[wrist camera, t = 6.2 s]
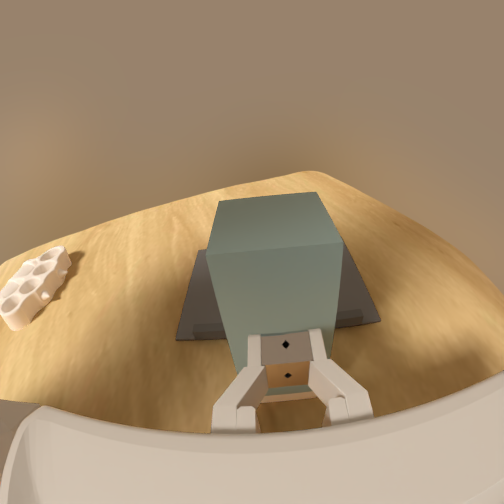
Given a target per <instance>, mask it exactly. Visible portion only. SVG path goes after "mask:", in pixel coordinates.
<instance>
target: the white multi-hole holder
mask: <svg viewBox="0 0 504 504" xmlns="http://www.w3.org/2000/svg"><path fill="white" fill-rule="evenodd" d="M71 264H72V262H71V260H70V258H69V256H68V253H67V251H66V249H65V247H63V246H56V247H53V248H51V249H49V250H47V251H46V252H44V253H43V254H42V255H41V256H39V257H37V258H35V259H29V260H27V261H25V262H24V263H23V265H22V267H21V268H20V269H19V270H18V271H17V272H16V273H15V275H14V276H13V277H12V278H10V279H9V280H8V283H7V284H6V285H5V287H4V288H3V289H2V290H1V292H0V315H1V316H2V318H3V319H4V320H5V322H6V323H7V325H8V326H9V328H10V329H11V330H13V331H18V330H21V329H23V328H25V327H26V326H27V325H29V324H30V323H31V321H32V319H33V317H34V316H35V314H36V313H37V312H38V311H39V310H41V309H42V308H43V307H45V306H46V305H47V304H48V303H49V302H50V301H51V300H52V299H53V296H54V293H55V292H56V290H57V289H58V288H59V287H60V286H61V285H62V284H63V282H64V280H65V278H66V276H65V275H66V274H67V273H68V271H67V269H68V268H69V267H70V266H71Z"/></svg>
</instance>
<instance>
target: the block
mask: <svg viewBox="0 0 504 504" xmlns="http://www.w3.org/2000/svg"><path fill="white" fill-rule="evenodd" d="M205 256H206V260H207V264H208V268H209V272H210V276H211V280H212V284H213V288H214V292H215V296H216V300H217V303H218V307H219V311H220V315H221V318H222V322H223V326H224V329H225V333H226V337H227V340H228V344H229V347H230V351H231V354H232V358H233V361H234V365H235V368H236V371H237V375H238V374H239V373H240V372H241V370H242V369H243V368H244V367H247V365H248V336H249V335H253V334H269V333H284V332H290V331H299V330H309V329H318V328H320V329H321V332H322V337H323V341H324V346H325V350H326V355H327V359H330V356H331V349H332V343H333V336H334V329H335V322H336V314H337V306H338V298H339V289H340V279H341V268H342V256H343V240H342V238H341V236H340V234H339V232H338V231H337V229H336V227H335V225H334V223H333V221H332V219H331V217H330V216H329V214H328V212H327V210H326V208H325V207H324V205H323V203H322V201H321V199H320V198H319V196H318V194H317V192H307V193H294V194H282V195H272V196H261V197H251V198H242V199H233V200H225V201H219V203H218V207H217V211H216V215H215V219H214V223H213V227H212V231H211V235H210V239H209V243H208V247H207V251H206V255H205ZM268 389H269V390H268V391H267V393H266V395H265V396H264V398H263V400H262V401H261V403H266V402H279V401H290V400H300V399H308V398H316V397H318V396H317V395H316V394H315V393H314V392H313V391H312V389H311V388H310V387H309V386H308V385H298V386H286V387H277V388H268Z"/></svg>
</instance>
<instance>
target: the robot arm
mask: <svg viewBox="0 0 504 504" xmlns="http://www.w3.org/2000/svg"><path fill="white" fill-rule="evenodd" d="M298 385H308V386H309V387H310V388H311V389H312V391H313V392H314V393H315V394H316V395H317V396H318V398H319V399H320V400H321V401H322V402H323V403H324V405H325V406H326V407H327V408H326V412H325V415H324V419H323V422H322V428H314V429H306V430H297V431H287V432H274V433H261V429H260V426H259V422H258V418H257V414H256V409H257V408H258V406H259V404H260V403H261V401H262V400H263V398H264V396H265V395H266V393H267V391H268V390H269V389H268V388H277V387H286V386H298ZM0 504H504V370H503V371H501V372H499V373H497V374H495V375H493V376H491V377H489V378H487V379H485V380H483V381H481V382H478V383H476V384H474V385H472V386H469V387H467V388H465V389H462V390H460V391H457V392H455V393H452V394H450V395H447V396H445V397H442V398H439V399H436V400H433V401H431V402H428V403H425V404H422V405H418V406H415V407H412V408H409V409H405V410H402V411H398V412H395V413H391V414H387V415H383V416H379V417H375V418H374V415H373V411H372V407H371V403H370V399H369V395H368V391H367V390H366V389H364V388H363V387H362V386H361V385H360V384H359V383H358V382H356V381H355V380H354V379H353V378H352V377H351V376H350V375H348V374H347V373H346V372H345V371H344V370H343V369H342V368H341V367H339V366H338V365H337V364H336V363H335V362H334V361H333V360H332V359H327V355H326V350H325V346H324V341H323V337H322V332H321V329H320V328H318V329H309V330H299V331H290V332H284V333H269V334H253V335H249V336H248V365H247V367H244V368H243V369H242V370H241V372H240V373H239V374H238V375H237V377H236V378H235V379H234V380H233V382H232V383H231V384H230V386H229V387H228V388H227V389H226V391H225V392H224V393H223V394H222V396H221V397H220V398H219V399H218V400H217V402H216V403H215V404H214V405H213V413H212V424H211V434H209V433H190V432H177V431H166V430H157V429H149V428H142V427H136V426H129V425H124V424H118V423H113V422H108V421H103V420H99V419H94V418H90V417H86V416H82V415H78V414H74V413H71V412H67V411H64V410H61V409H57V408H54V407H51V406H47V405H44V406H41V407H40V408H38V409H37V410H35V411H34V412H33V413H31V414H30V415H29V416H27V417H26V418H25V419H24V420H23V421H22V422H21V424H20V426H19V427H18V429H17V431H16V434H15V436H14V439H13V442H12V444H11V447H10V450H9V453H8V456H7V460H6V463H5V466H4V470H3V475H2V479H1V484H0Z"/></svg>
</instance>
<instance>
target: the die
mask: <svg viewBox="0 0 504 504" xmlns="http://www.w3.org/2000/svg"><path fill="white" fill-rule="evenodd" d="M40 407H41V406H40V404H36V403H25V402H16V401H8V400H1V399H0V481H1V479H2V475H3V470H4V466H5V463H6V460H7V456H8V453H9V450H10V447H11V444H12V442H13V439H14V436H15V434H16V431H17V429H18V427H19V426H20V424H21V422H22V421H23V420H24V419H25V418H26V417H27V416H29V415H30V414H31V413H33V412H34V411H35V410H37V409H38V408H40Z"/></svg>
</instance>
